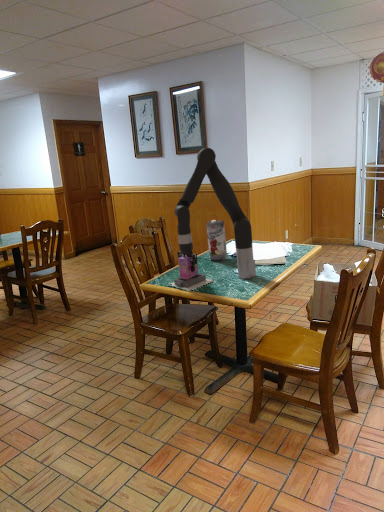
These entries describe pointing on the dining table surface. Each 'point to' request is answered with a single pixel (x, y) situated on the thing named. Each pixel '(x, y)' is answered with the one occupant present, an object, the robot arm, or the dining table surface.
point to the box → (186, 268)
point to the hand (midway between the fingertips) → (188, 270)
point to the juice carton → (216, 240)
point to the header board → (191, 282)
